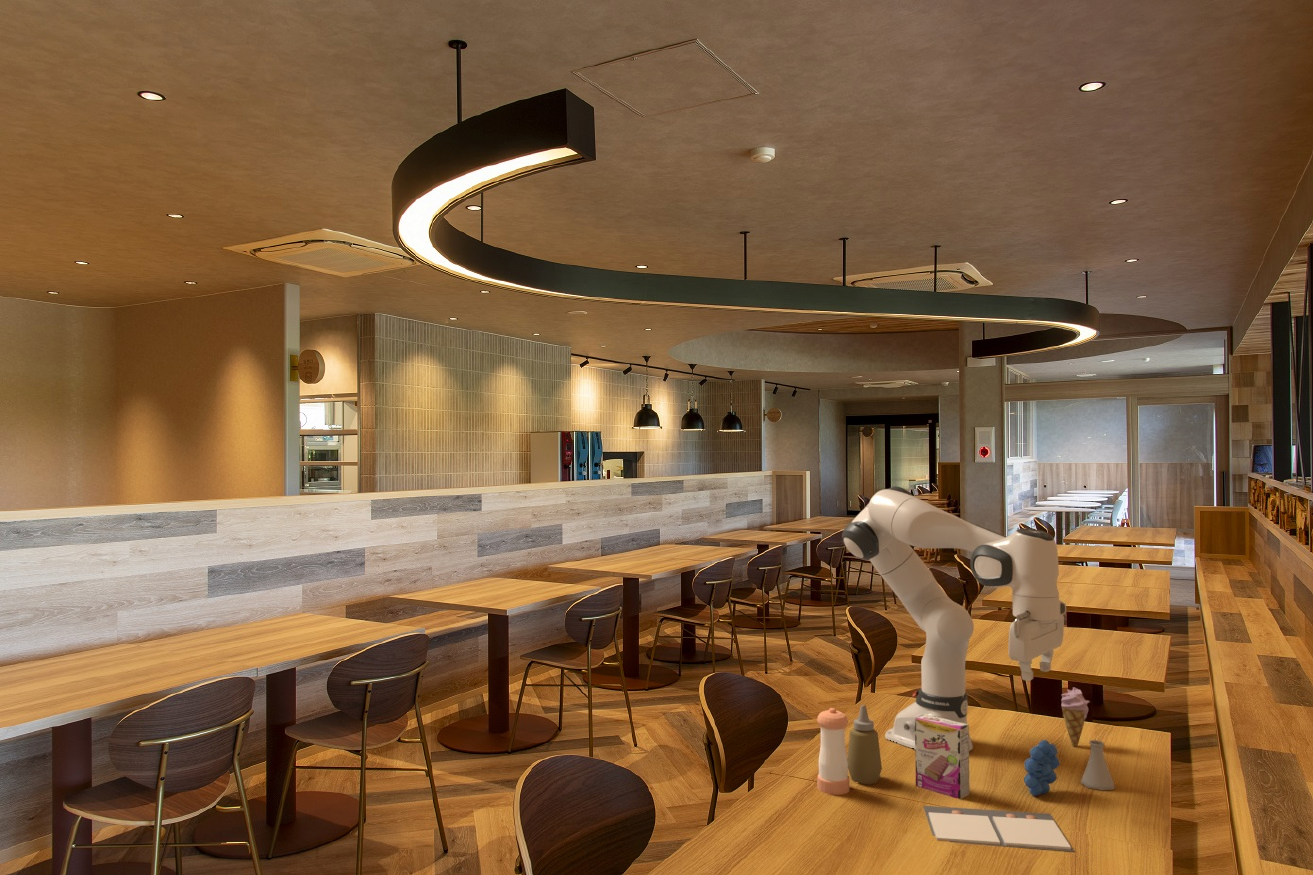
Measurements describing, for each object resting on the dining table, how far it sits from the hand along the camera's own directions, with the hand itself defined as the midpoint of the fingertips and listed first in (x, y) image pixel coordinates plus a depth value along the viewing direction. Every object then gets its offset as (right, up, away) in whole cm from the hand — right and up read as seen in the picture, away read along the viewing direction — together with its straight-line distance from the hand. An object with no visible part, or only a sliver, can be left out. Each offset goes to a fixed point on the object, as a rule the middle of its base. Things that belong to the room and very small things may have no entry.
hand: (1036, 675), depth 174 cm
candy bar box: (-13, -33, +20) cm, 40 cm away
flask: (+24, -32, +23) cm, 46 cm away
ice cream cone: (+32, -33, +49) cm, 67 cm away
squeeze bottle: (-29, -33, +26) cm, 51 cm away
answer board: (-9, -32, 0) cm, 33 cm away
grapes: (+9, -32, +19) cm, 38 cm away
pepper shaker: (-38, -33, +20) cm, 54 cm away
